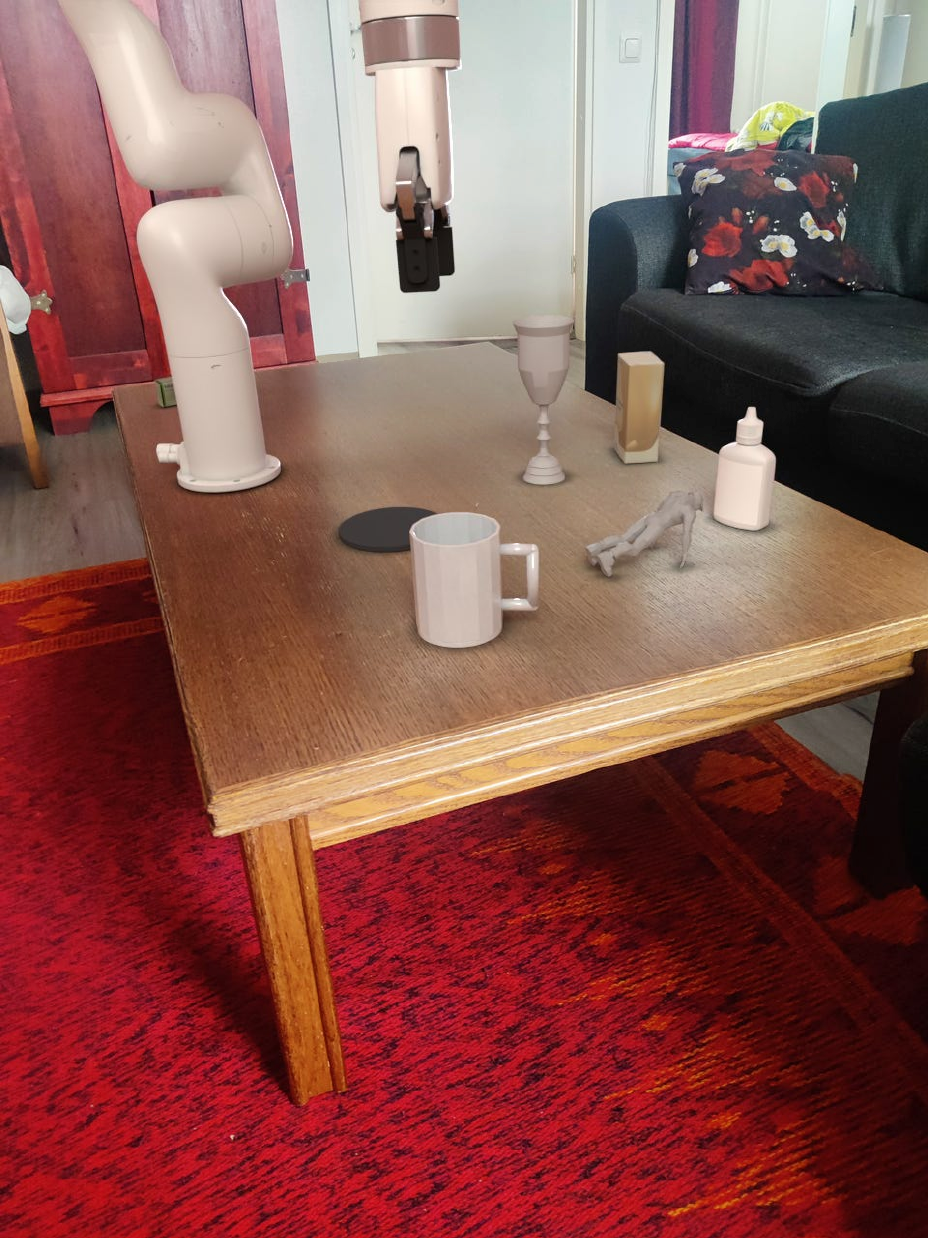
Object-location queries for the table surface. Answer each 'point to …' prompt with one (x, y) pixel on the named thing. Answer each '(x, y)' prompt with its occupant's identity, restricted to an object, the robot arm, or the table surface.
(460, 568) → the coffee mug
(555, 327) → the chalice
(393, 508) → the coaster
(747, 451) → the eye dropper bottle
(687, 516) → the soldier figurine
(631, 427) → the cosmetic box
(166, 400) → the medication box
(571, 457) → the table surface
